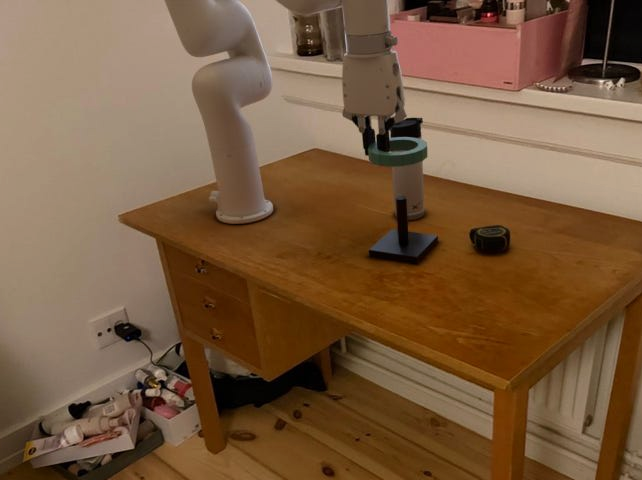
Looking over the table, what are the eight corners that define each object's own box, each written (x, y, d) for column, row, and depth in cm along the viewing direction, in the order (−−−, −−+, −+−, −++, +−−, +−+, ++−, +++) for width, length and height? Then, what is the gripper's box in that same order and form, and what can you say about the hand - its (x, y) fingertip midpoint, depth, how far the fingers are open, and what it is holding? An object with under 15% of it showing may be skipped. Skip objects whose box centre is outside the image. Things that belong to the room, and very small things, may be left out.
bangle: (358, 164, 123) (357, 152, 122) (385, 146, 131) (384, 135, 130) (412, 168, 119) (412, 157, 118) (436, 150, 127) (436, 139, 126)
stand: (369, 257, 134) (364, 204, 128) (392, 236, 141) (388, 185, 135) (417, 264, 130) (414, 210, 124) (438, 242, 137) (436, 190, 131)
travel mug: (423, 221, 146) (419, 123, 135) (392, 220, 147) (386, 123, 136) (428, 209, 151) (424, 114, 140) (398, 209, 152) (392, 115, 141)
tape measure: (503, 239, 136) (503, 220, 134) (514, 253, 130) (515, 234, 128) (468, 243, 135) (468, 225, 133) (479, 258, 130) (479, 239, 128)
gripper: (421, 40, 116) (425, 150, 126) (338, 39, 123) (348, 144, 133) (401, 49, 111) (408, 164, 121) (316, 48, 117) (328, 157, 127)
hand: (377, 153), depth 127 cm, fingers closed on bangle, 2 cm apart
